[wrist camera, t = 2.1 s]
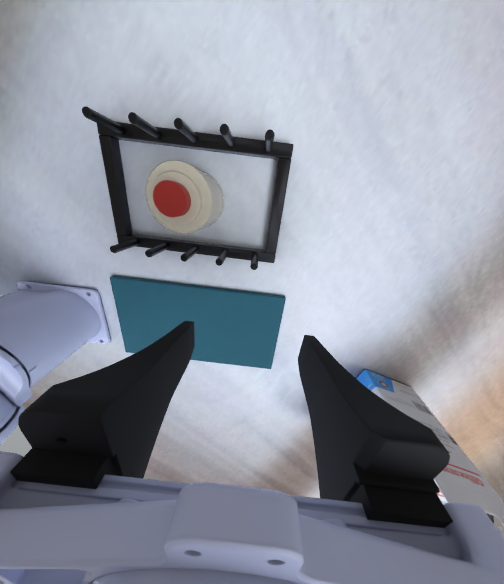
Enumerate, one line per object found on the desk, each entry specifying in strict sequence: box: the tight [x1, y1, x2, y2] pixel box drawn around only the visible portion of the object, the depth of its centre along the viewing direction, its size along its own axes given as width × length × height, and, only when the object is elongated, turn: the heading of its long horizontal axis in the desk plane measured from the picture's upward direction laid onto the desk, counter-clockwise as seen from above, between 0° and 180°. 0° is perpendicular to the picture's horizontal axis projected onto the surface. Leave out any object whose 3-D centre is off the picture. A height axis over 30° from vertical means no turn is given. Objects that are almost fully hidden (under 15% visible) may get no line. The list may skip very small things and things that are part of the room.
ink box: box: [356, 369, 504, 538], centre depth 21 cm, size 8×5×15 cm, turn 66°
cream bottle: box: [146, 160, 224, 234], centre depth 16 cm, size 5×5×7 cm
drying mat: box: [110, 276, 286, 369], centre depth 24 cm, size 20×11×1 cm, turn 84°
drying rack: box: [82, 107, 293, 270], centre depth 17 cm, size 16×10×4 cm, turn 84°
